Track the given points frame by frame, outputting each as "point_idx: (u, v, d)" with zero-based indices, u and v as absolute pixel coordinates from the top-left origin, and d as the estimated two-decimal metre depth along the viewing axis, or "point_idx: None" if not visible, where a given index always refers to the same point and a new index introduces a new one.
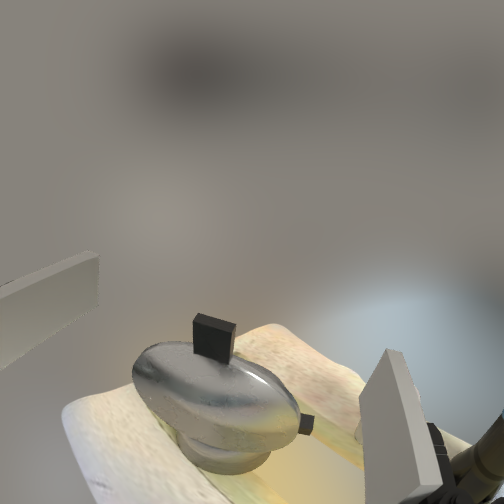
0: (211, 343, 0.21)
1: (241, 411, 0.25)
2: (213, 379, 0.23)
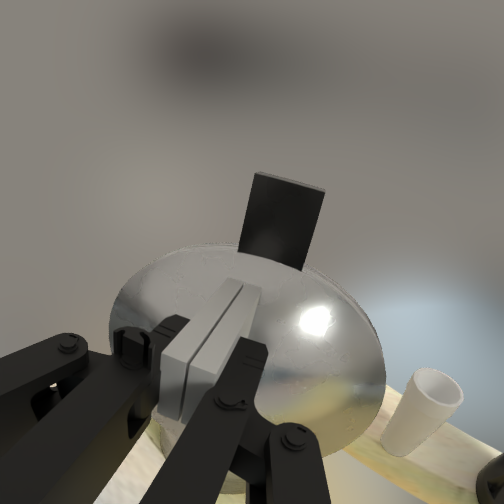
0: (279, 221, 0.12)
1: (293, 383, 0.15)
2: (261, 312, 0.14)
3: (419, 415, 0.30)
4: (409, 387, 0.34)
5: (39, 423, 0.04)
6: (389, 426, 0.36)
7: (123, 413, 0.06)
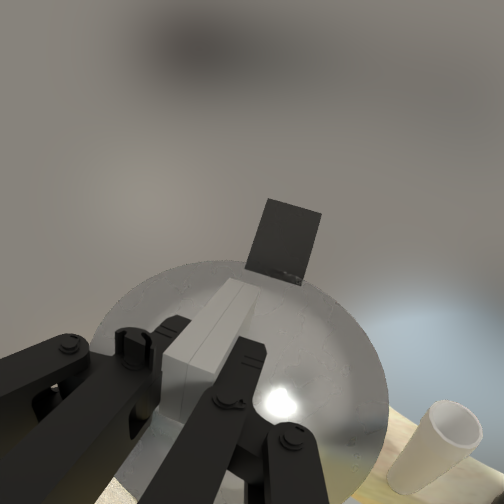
0: (285, 235, 0.15)
1: (293, 409, 0.13)
2: (264, 322, 0.15)
3: (433, 457, 0.23)
4: (423, 425, 0.26)
5: (40, 424, 0.04)
6: (397, 464, 0.28)
7: (124, 414, 0.06)
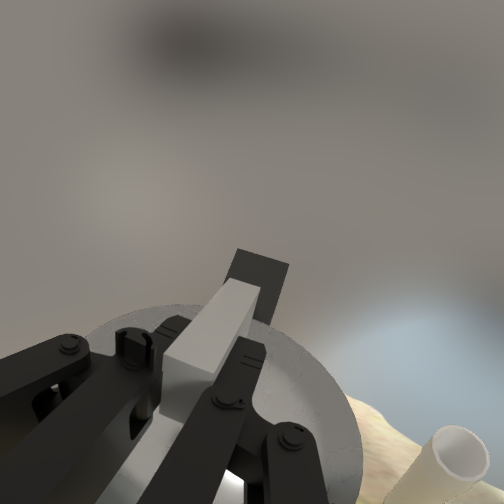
0: (253, 284, 0.16)
1: None
2: None
3: (434, 490, 0.18)
4: (425, 456, 0.21)
5: (40, 424, 0.04)
6: (395, 493, 0.23)
7: (125, 414, 0.06)
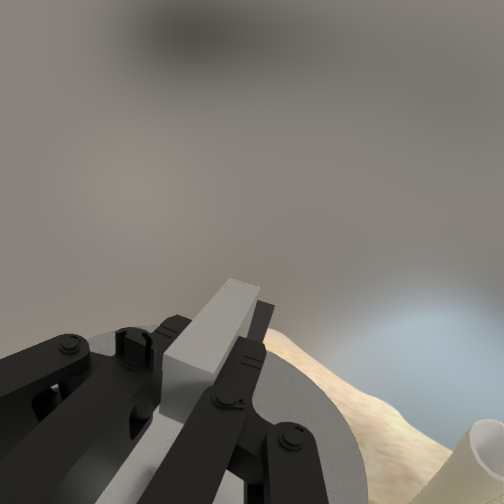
0: None
1: None
2: None
3: (472, 495, 0.12)
4: (462, 456, 0.16)
5: (40, 424, 0.04)
6: (421, 501, 0.18)
7: (125, 414, 0.06)
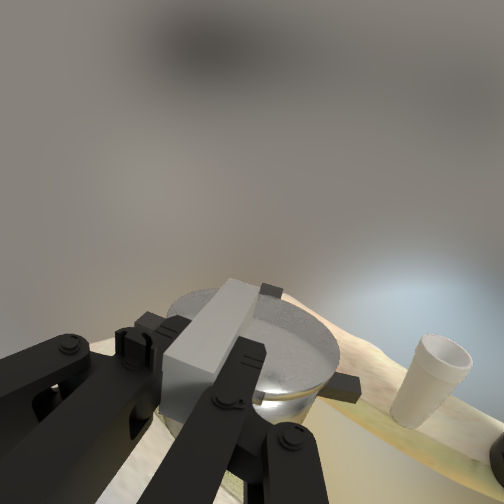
0: (271, 290, 0.40)
1: (288, 327, 0.31)
2: (268, 304, 0.35)
3: (430, 379, 0.31)
4: (418, 351, 0.34)
5: (40, 424, 0.04)
6: (399, 396, 0.36)
7: (125, 414, 0.06)
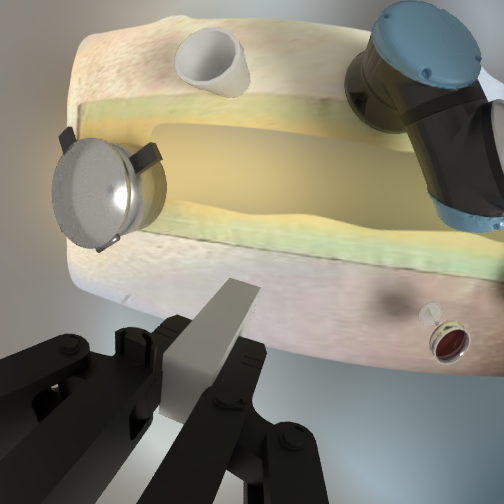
0: (65, 139, 0.40)
1: (91, 171, 0.40)
2: (73, 160, 0.40)
3: None
4: None
5: (40, 424, 0.04)
6: None
7: (125, 414, 0.06)
